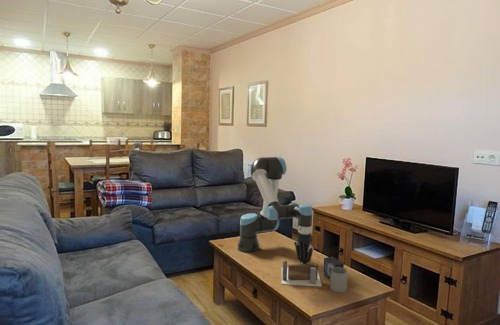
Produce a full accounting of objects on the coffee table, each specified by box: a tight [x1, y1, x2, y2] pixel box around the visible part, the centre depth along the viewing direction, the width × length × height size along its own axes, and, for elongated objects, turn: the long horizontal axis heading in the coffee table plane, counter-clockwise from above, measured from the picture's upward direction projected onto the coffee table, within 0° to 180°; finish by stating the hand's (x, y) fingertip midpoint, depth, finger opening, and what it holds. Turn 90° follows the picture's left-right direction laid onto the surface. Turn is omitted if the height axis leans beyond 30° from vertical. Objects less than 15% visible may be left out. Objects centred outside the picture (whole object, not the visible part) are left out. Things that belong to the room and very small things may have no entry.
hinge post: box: [281, 260, 288, 281], centre depth 193 cm, size 2×2×11 cm
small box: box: [323, 256, 345, 281], centre depth 196 cm, size 11×6×10 cm, turn 23°
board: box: [281, 266, 322, 287], centre depth 199 cm, size 21×21×1 cm
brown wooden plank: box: [287, 261, 319, 280], centre depth 193 cm, size 2×16×9 cm, turn 93°
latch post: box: [310, 267, 316, 284], centre depth 189 cm, size 2×3×9 cm
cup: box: [329, 267, 348, 293], centre depth 185 cm, size 8×8×10 cm
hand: (303, 273), depth 198 cm, fingers closed
